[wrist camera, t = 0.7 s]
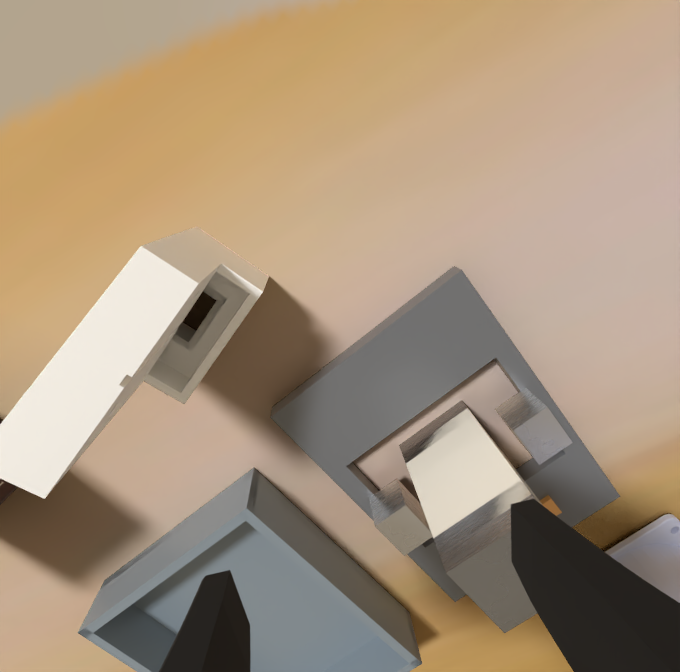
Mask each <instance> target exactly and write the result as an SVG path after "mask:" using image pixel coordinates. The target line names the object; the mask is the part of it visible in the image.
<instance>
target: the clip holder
mask: <svg viewBox="0 0 680 672" xmlns="http://www.w3.org/2000/svg"><path fill="white" fill-rule="evenodd" d="M493 359H494V360H495V361H496V362H497V364H498V365H499V366H500V368H501V369H502V371H503V372H504V373H505V375H506V376H507V377H508V379H509V380H510V381H511V383H512V384H513V386H514V387H515V388H516V390H517V391H518V393H517V394H516V395H514V396H513V397H511V398H510V399H509V400H507V401H506V402H504V403H503V404H501V405H500V406H499V407H497V408H496V409H495V410H496V412H497V413H498V414H499V415H500V417H501V418H502V419H503V421H504V422H505V423H506V425H507V426H508V427H509V428H510V430H511V431H512V432H513V434H514V435H515V436H516V438H517V439H518V440H519V442H520V443H521V444H522V445H523V446H524V447H525V449H526V450H527V451H528V452H529V453H530V454H531V456H532V457H533V458H532V459H531V460H529V461H528V462H526V463H525V464H523V465H522V466H520V467H519V468H517V469H516V470H517V472H518V473H519V474H520V476H521V477H522V478H523V480H524V481H525V482H526V484H527V485H528V486H529V488H530V489H531V490H532V492H533V493H534V494H535V496H536V497H537V498H538V500H539V501H540V502H541V504H542V505H543V506H544V507H545V508H547V509H548V510H549V511H551V512H552V513H553V514H554V515H556V516H557V517H558V518H560V519H561V520H562V521H564V522H565V523H566V524H567V525H569V526H570V527H571V528H572V527H573V526H575V525H576V524H578V523H579V522H581V521H583V520H584V519H586V518H587V517H589V516H590V515H592V514H593V513H595V512H597V511H598V510H600V509H601V508H603V507H604V506H606V505H608V504H609V503H611V502H612V501H614V500H615V499H617V498H619V497H620V495H619V494H618V493H617V491H616V490H615V488H614V487H613V485H612V484H611V483H610V481H609V480H608V478H607V477H606V475H605V474H604V473H603V471H602V470H601V468H600V467H599V465H598V464H597V463H596V461H595V460H594V458H593V457H592V455H591V454H590V453H589V451H588V450H587V448H586V447H585V445H584V444H583V443H582V441H581V440H580V438H579V437H578V435H577V434H576V433H575V431H574V430H573V428H572V427H571V425H570V424H569V423H568V421H567V420H566V418H565V417H564V415H563V414H562V413H561V411H560V410H559V408H558V407H557V405H556V404H555V403H554V401H553V400H552V398H551V397H550V395H549V394H548V393H547V391H546V390H545V388H544V387H543V385H542V384H541V383H540V381H539V380H538V378H537V377H536V375H535V374H534V373H533V371H532V370H531V368H530V367H529V365H528V364H527V363H526V361H525V360H524V358H523V357H522V355H521V354H520V353H519V351H518V350H517V348H516V347H515V345H514V344H513V343H512V341H511V340H510V338H509V337H508V335H507V334H506V333H505V331H504V330H503V328H502V327H501V325H500V324H499V323H498V321H497V320H496V318H495V317H494V315H493V314H492V313H491V311H490V310H489V308H488V307H487V305H486V304H485V303H484V301H483V300H482V298H481V297H480V295H479V294H478V293H477V291H476V290H475V288H474V287H473V285H472V284H471V283H470V281H469V280H468V278H467V277H466V275H465V274H464V273H463V271H462V270H461V269H459V268H457V267H455V266H454V267H452V268H451V269H450V270H449V271H447V272H446V273H445V274H443V275H442V276H441V277H440V278H438V279H437V280H436V281H434V282H433V283H432V284H431V285H429V286H428V287H427V288H425V289H424V290H423V291H422V292H420V293H419V294H418V295H416V296H415V297H414V298H413V299H411V300H410V301H409V302H407V303H406V304H405V305H403V306H402V307H401V308H400V309H398V310H397V311H396V312H394V313H393V314H392V315H391V316H389V317H388V318H387V319H385V320H384V321H383V322H382V323H380V324H379V325H378V326H376V327H375V328H374V329H373V330H371V331H370V332H369V333H367V334H366V335H365V336H363V337H362V338H361V339H360V340H358V341H357V342H356V343H354V344H353V345H352V346H351V347H349V348H348V349H347V350H345V351H344V352H343V353H342V354H340V355H339V356H338V357H336V358H335V359H334V360H333V361H331V362H330V363H329V364H327V365H326V366H325V367H324V368H322V369H321V370H320V371H318V372H317V373H316V374H314V375H313V376H312V377H311V378H309V379H308V380H307V381H305V382H304V383H303V384H302V385H300V386H299V387H298V388H296V389H295V390H294V391H293V392H291V393H290V394H289V395H287V396H286V397H285V398H284V399H282V400H281V401H280V402H278V403H277V404H276V405H274V406H273V407H272V411H271V417H270V418H271V419H272V420H273V421H274V422H275V423H276V424H277V425H278V426H279V427H280V428H281V429H282V430H283V431H284V432H285V433H286V434H287V435H288V436H289V437H290V438H291V439H292V440H293V441H294V442H295V443H296V444H297V445H298V446H299V447H300V448H301V449H302V450H303V451H304V452H305V453H306V454H307V455H308V456H309V457H310V458H311V459H312V460H313V461H314V462H315V463H316V464H317V465H318V466H319V467H320V468H321V469H322V470H323V471H324V472H325V473H326V474H327V475H328V476H329V477H330V478H331V479H332V480H333V481H334V482H335V483H336V484H337V485H338V486H339V487H340V488H341V489H342V490H343V491H344V492H345V493H346V494H347V495H348V496H349V497H350V498H351V499H352V500H353V501H354V502H355V503H356V504H357V505H358V506H359V507H360V508H361V509H362V510H363V511H364V512H365V513H366V514H367V515H368V516H369V517H370V518H371V519H372V520H373V521H374V524H375V527H376V528H377V529H378V530H379V531H380V532H381V533H382V534H383V535H384V536H385V537H386V538H387V539H388V540H389V541H390V542H391V543H392V544H393V545H394V546H395V547H396V548H397V549H398V550H399V551H400V552H401V553H402V554H403V555H404V556H405V555H406V554H407V555H408V556H409V557H410V558H412V559H413V560H414V561H415V562H416V563H417V564H418V565H419V566H420V567H421V568H422V569H423V570H424V571H425V572H426V573H427V574H428V575H429V576H430V577H431V578H432V579H433V580H434V581H435V582H436V583H437V584H438V585H439V586H440V587H441V588H442V589H443V590H444V591H445V592H446V593H447V594H448V595H449V596H450V597H451V598H452V599H453V600H454V601H455V602H456V601H457V600H459V599H460V598H462V597H464V596H465V595H467V594H466V593H465V592H464V591H463V590H462V589H461V588H460V587H459V586H458V585H457V584H456V583H455V582H454V581H453V580H452V579H451V578H450V577H449V576H448V575H447V574H446V571H445V569H444V566H443V563H442V560H441V558H440V555H439V552H438V550H437V547H436V544H435V541H434V539H433V536H432V533H431V530H430V528H429V525H428V522H427V520H426V517H425V514H424V511H423V509H422V506H421V504H420V503H419V501H418V500H417V499H416V498H415V497H414V496H413V495H412V494H411V493H410V492H409V491H408V490H407V489H406V487H405V486H404V485H403V484H402V483H401V482H400V481H399V480H398V479H395V480H394V481H392V482H391V483H390V484H388V485H387V486H385V487H384V488H382V489H381V490H380V491H379V490H378V489H377V488H376V487H375V486H374V485H373V484H372V483H371V482H370V481H369V480H368V479H367V478H366V477H365V476H364V475H363V474H362V473H361V471H360V470H359V469H358V468H357V467H356V466H355V465H354V464H353V463H352V462H353V461H354V460H355V459H357V458H358V457H359V456H361V455H362V454H364V453H365V452H366V451H368V450H369V449H370V448H372V447H373V446H375V445H376V444H377V443H379V442H380V441H381V440H383V439H384V438H386V437H387V436H388V435H390V434H391V433H393V432H394V431H395V430H397V429H398V428H399V427H401V426H402V425H404V424H405V423H406V422H408V421H409V420H410V419H412V418H413V417H415V416H416V415H417V414H419V413H420V412H421V411H423V410H424V409H426V408H427V407H428V406H430V405H431V404H432V403H434V402H435V401H437V400H438V399H439V398H441V397H442V396H443V395H445V394H446V393H448V392H449V391H450V390H452V389H453V388H454V387H456V386H457V385H459V384H460V383H461V382H463V381H464V380H466V379H467V378H468V377H470V376H471V375H472V374H474V373H475V372H477V371H478V370H479V369H481V368H482V367H483V366H485V365H486V364H488V363H489V362H490V361H492V360H493Z"/></svg>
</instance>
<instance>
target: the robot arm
mask: <svg viewBox="0 0 680 672" xmlns="http://www.w3.org/2000/svg"><path fill="white" fill-rule="evenodd" d="M511 561H512V564H513V566H514V568H515V570H516V572H517V574H518V576H519V578H520V581H521V583H522V585H523V587H524V589H525V591H526V593H527V595H528V597H529V599H530V601H531V603H532V605H533V606H534V608H535V610H536V611H537V613H538V615H539V616H540V618H541V619H542V621H543V623H544V624H545V626H546V628H547V629H548V631H549V632H550V634H551V636H552V637H553V639H554V641H555V642H556V644H557V645H558V647H559V649H560V650H561V652H562V653H563V655H564V657H565V658H566V660H567V661H568V663H569V665H570V666H571V668H572V669H573V671H574V672H680V521H679V520H678V519H677V518H676V517H675V516H674V515H672V514H666V515H663V516H662V517H660V518H658V519H657V520H655V521H654V522H652V523H650V524H649V525H647V526H646V527H644V528H642V529H641V530H639V531H637V532H636V533H634V534H633V535H631V536H629V537H628V538H626V539H625V540H623V541H621V542H620V543H618V544H617V545H615V546H613V547H612V548H610V549H609V550H607V551H605V552H604V551H602V550H601V549H600V548H598V547H597V546H595V545H594V544H593V543H591V542H590V541H589V540H587V539H586V538H585V537H583V536H582V535H581V534H579V533H578V532H577V531H575V530H574V529H573V528H571V527H570V526H569V525H567V524H566V523H565V522H564V521H562V520H561V519H560V518H558V517H557V516H556V515H554V514H553V513H552V512H551V511H549V510H548V509H547V508H545V507H544V506H543V505H541V504H540V503H539V502H538V501H536V500H535V499H530V500H526V501H521V502H517V503H513V504H511ZM250 659H251V650H250V623H249V621H248V618H247V615H246V612H245V610H244V607H243V604H242V601H241V599H240V596H239V593H238V590H237V588H236V585H235V582H234V579H233V577H232V574H231V571H230V570H228V571H223V572H219V573H215V574H210V575H206V576H205V577H204V578H203V579H202V581H201V584H200V586H199V588H198V590H197V593H196V595H195V597H194V599H193V602H192V604H191V606H190V608H189V611H188V613H187V615H186V617H185V619H184V621H183V624H182V626H181V628H180V630H179V632H178V634H177V636H176V638H175V640H174V642H173V644H172V646H171V648H170V650H169V652H168V654H167V656H166V658H165V660H164V662H163V664H162V666H161V668H160V670H159V672H250Z"/></svg>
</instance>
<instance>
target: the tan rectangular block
mask: <svg viewBox="0 0 680 672" xmlns="http://www.w3.org/2000/svg"><path fill="white" fill-rule="evenodd" d="M399 446H400V449H401V451H402V454H403V457H404V460H405V462H406V465H407V468H408V470H409V473H410V476H411V479H412V481H413V484H414V487H415V490H416V492H417V495H418V498H419V500H420V503H421V506H422V509H423V511H424V514H425V517H426V520H427V522H428V525H429V528H430V530H431V533H432V536H433V539H434V541H435V544H436V547H437V550H438V552H439V555H440V558H441V560H442V563H443V566H444V569H445V571H446V574H447V575H448V576H449V577H450V578H451V579H452V580H453V581H454V582H455V583H456V584H457V585H458V586H459V587H460V588H461V589H462V590H463V591H464V592H465V593H466V594H467V595H468V596H469V597H470V598H471V599H472V600H473V601H474V602H475V603H476V604H477V605H478V606H479V607H480V608H481V609H482V610H483V611H484V612H485V614H486V615H487V616H488V617H489V618H490V619H491V620H492V621H493V622H494V623H495V624H496V625H497V626H498V627H499V628H500V629H501V630H502V631H503V632H504V633H506V632H507V631H509V630H511V629H512V628H514V627H516V626H517V625H519V624H521V623H522V622H524V621H525V620H527V619H529V618H530V617H532V616H534V615H535V614H537V611H536V610H535V608H534V606H533V605H532V603H531V601H530V599H529V597H528V595H527V593H526V591H525V589H524V587H523V585H522V583H521V581H520V578H519V576H518V574H517V572H516V570H515V568H514V566H513V564H512V561H511V504H513V503H517V502H521V501H526V500H530V499H535V500H536V501H538V502H539V503H540V504H541V502H540V501H539V500H538V498H537V497H536V496H535V494H534V493H533V492H532V490H531V489H530V488H529V486H528V485H527V484H526V482H525V481H524V480H523V478H522V477H521V476H520V474H519V473H518V472H517V470H516V469H515V468H514V466H513V465H512V464H511V462H510V461H509V460H508V458H507V457H506V456H505V454H504V453H503V452H502V450H501V449H500V448H499V447H498V445H497V444H496V443H495V442H494V440H493V439H492V438H491V436H490V435H489V434H488V433H487V431H486V430H485V429H484V428H483V426H482V425H481V424H480V423H479V421H478V420H477V419H476V418H475V416H474V415H473V414H472V412H471V411H470V410H469V409H468V407H467V406H466V405H465V404H464V402H463V401H460V402H459V403H458V404H456V405H455V406H453V407H452V408H451V409H449V410H448V411H446V412H445V413H444V414H442V415H441V416H439V417H438V418H437V419H435V420H434V421H432V422H431V423H430V424H428V425H427V426H425V427H424V428H423V429H421V430H420V431H419V432H417V433H416V434H414V435H413V436H412V437H410V438H409V439H407V440H406V441H405V442H403V443H402V444H400V445H399ZM541 505H542V504H541Z"/></svg>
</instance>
